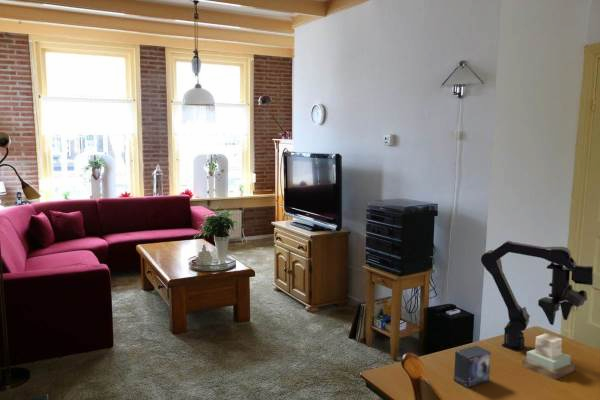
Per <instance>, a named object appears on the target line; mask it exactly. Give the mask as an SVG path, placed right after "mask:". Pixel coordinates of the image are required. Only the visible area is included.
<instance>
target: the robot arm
mask: <svg viewBox="0 0 600 400" xmlns="http://www.w3.org/2000/svg"><path fill="white" fill-rule="evenodd" d="M508 253H512V254H517V255H522V256H529V257H533V258H539V259H544V260H545V261H548V262H550V263H549V264H547V266H546V269H548V270H551V282H550V283H549V284H548V286H549V287H551V288H550V289H551V293H548V296H546V297H542V298H540V299H538V301H537V306H539V308H541V310H542V311H543V313H544V315H545V317H546V318H547V320H548V322H549V325H552V326H553V325H555V320H556V315H557V312H558V311H560V310H561V315H562V318H563V320H564V321H567V320H568V318H569V316H570V313H571V311H572V309H573V307H576V308H578V307H581V306H583V305H584V304H585V302H586V301H588V295H587V291H585V290H584V289H581V290H579V291H578V290H574V288H573V285H572V284H571V283H570V280H571V281H572V282H573V283H574V284H577V285H585V286H591V287H592V286H594V285H593V284H594V276H595V275H594V266H591V265H577V262H576V261H575V259H573V257H572V251H571V250H570V249H569V248H568V247H565V246H539V245H532V244H526V243H520V242H515V241H512V240H506V241H504V242H503V244H501V245H499V246H498V247H497V248H495V249H494V250H492V249H490V250H488V251H485V253H483V254H482V255H481V258H480V261H481V263H482V265H483V267H484V268H485V270H486V271H487V272H488V273H489V274H490V275H491V277H492V279H493V280H494V283H495V285H496V287H497V289H498V291H499V293H500V296H501V298H502V301H503V302H504V304H505V307H506V309H507V314H508V320H509V321H508V322H507V323H506V325H505V327H504V328H503V329H504V332H503V333H504V335H503V343H501V346H502V347H504V348H508V349H509V350H513V351H515V352H516V351H519V350H522V349H525V348H527V347H526V345H525V339H526V338H525V336H524V335H525V333H524V332H523V331H526V329H527V327H528V325H529V324H530V317H531V315H530V314H529V313H528V311H527V307H525V306H523V307H522V306H520V305H519V303H518V301H517V299H516V297H515V294H514V292H513V291H512V289H511V287H510V284H509V282H508V280H507V278H506V275H505V273H504V271H503V265H502V261H501V259H502V258H503V257H504V256H506V255H507V254H508ZM570 278H571V279H570Z"/></svg>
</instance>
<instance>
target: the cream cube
mask: <svg viewBox="0 0 600 400" xmlns="http://www.w3.org/2000/svg"><path fill="white" fill-rule="evenodd" d="M562 343H563V339H562V338H561V337H558V336H556V335H552V334H550V333H546V332H545V333H542V334H540V335H537V336H535V344H534V345H535V346H534V347H535V348H534V349H535V353H536V354H539V355H541V356H544V357H547V358H550V359H553V358H556V357H558V356H560V355H561V353H562V348H563V346H562V345H563V344H562Z"/></svg>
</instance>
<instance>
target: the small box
mask: <svg viewBox="0 0 600 400" xmlns="http://www.w3.org/2000/svg"><path fill="white" fill-rule="evenodd" d="M491 355H492V353H491V351H489V350H487V349H485V348H482V347H481V346H479V345H474V346H470V347H466V348H462V349H458V350H454V370H453V371H454V373H453V374H454V375H453V381H455V382H457V384H460V385H461V386H463V387H465V388H467V389H468V388H472V387H474V386H478V385H480V384H484V383H487V382H490V373H491V372H490V370H491V368H490V367H491Z"/></svg>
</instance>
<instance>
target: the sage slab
mask: <svg viewBox="0 0 600 400" xmlns="http://www.w3.org/2000/svg"><path fill="white" fill-rule="evenodd" d="M525 359H526V360H528V361H530V362H533V363H535V364H538V365H540V366H542V367H545V368H547V369H550V370H552V371H554V370H557V369H559V368H562V367H564V366H567V365H570V363H572V362H571V359H572V357H571V355H570V354H566V353H563V352H561V355H560V356H558V357H556V358H553V359H550V358H547V357H544V356H541V355H539V354H536V353H535V348H534V349H532V350H531V349H530V350H528V351H526V358H525Z"/></svg>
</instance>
